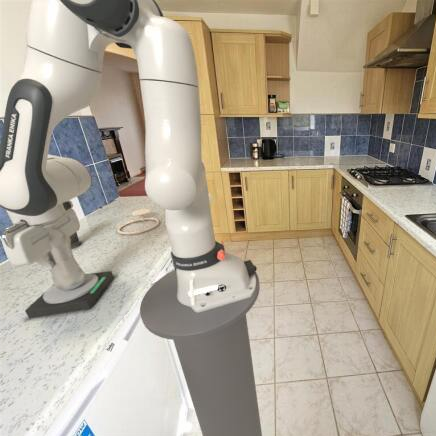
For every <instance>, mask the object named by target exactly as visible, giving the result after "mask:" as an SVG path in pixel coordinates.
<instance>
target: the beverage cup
mask: <svg viewBox="0 0 436 436" xmlns="http://www.w3.org/2000/svg"><path fill="white" fill-rule="evenodd" d="M70 239H71V242H70V248H71V250H72V249H75V248H78V247H79V246H80V245H81V243H80V239H79V236H78V231H77V232H75V233H74V234H73V235H71V236H70Z"/></svg>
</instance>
